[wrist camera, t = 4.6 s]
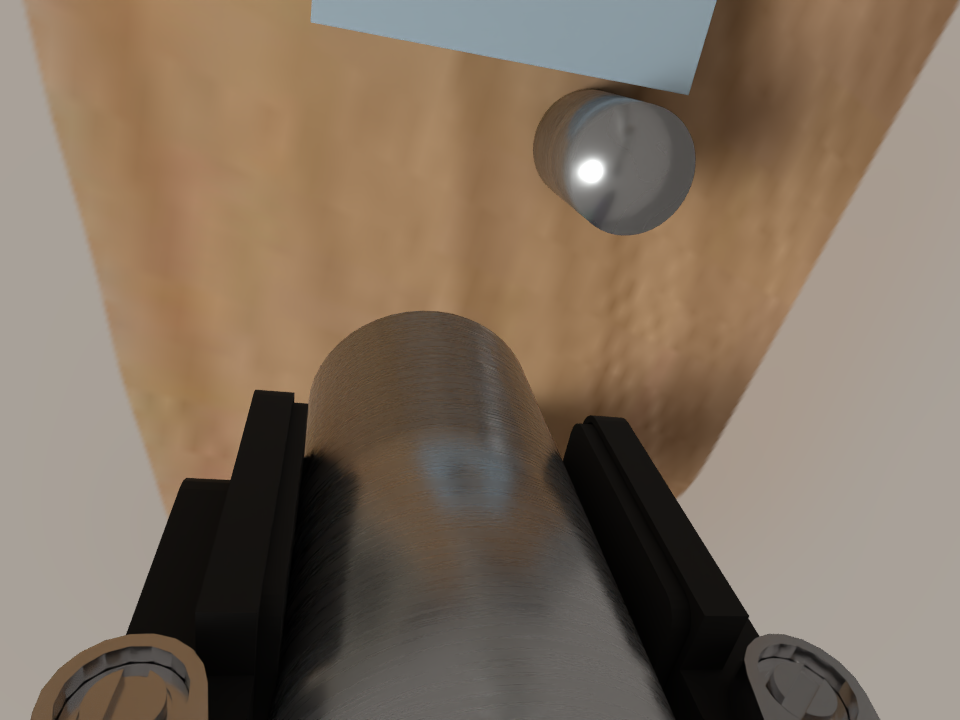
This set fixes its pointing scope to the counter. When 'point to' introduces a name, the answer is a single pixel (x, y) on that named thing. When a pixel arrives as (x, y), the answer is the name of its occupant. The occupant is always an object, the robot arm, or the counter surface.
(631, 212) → the short pin
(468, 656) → the long pin
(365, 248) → the counter surface
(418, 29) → the collar block
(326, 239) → the counter surface
